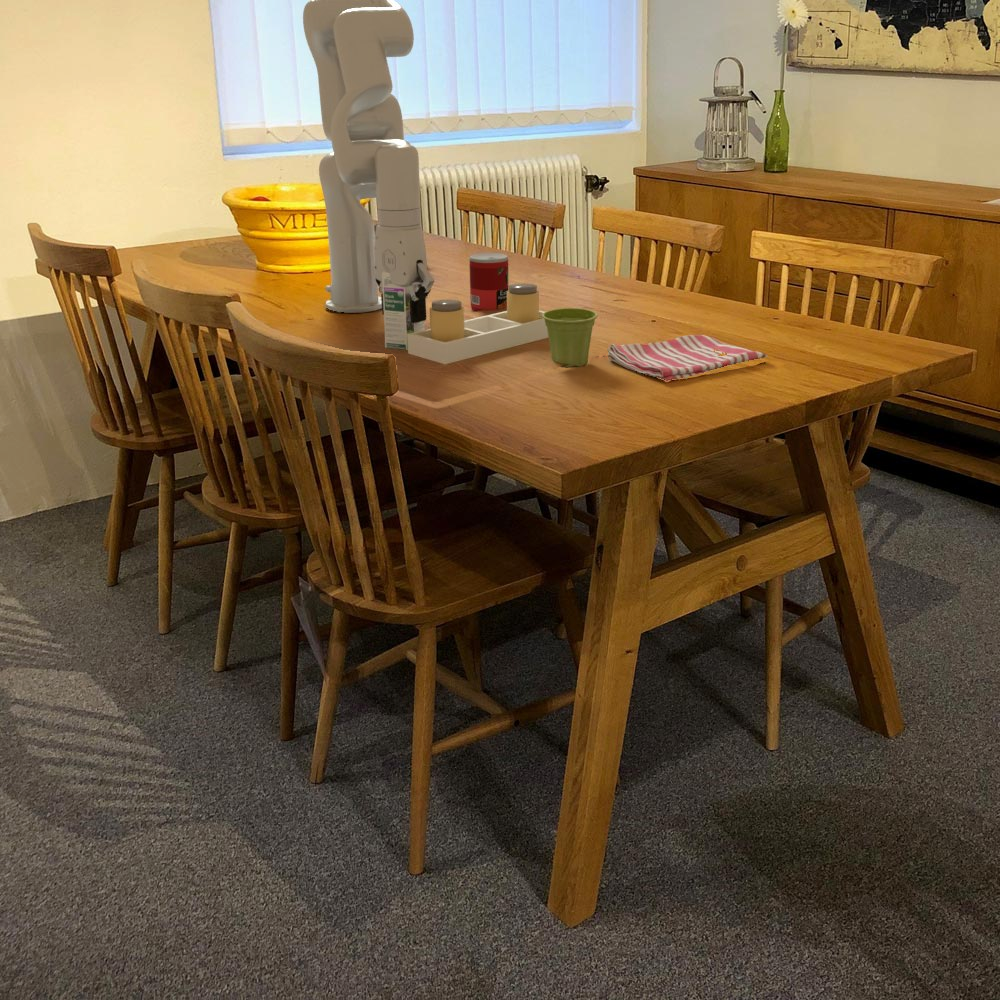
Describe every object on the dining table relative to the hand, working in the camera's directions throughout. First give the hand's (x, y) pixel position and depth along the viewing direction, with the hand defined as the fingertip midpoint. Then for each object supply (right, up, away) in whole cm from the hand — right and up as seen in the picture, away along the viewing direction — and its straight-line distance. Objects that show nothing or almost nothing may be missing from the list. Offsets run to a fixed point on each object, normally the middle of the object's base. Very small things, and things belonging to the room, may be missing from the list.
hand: (404, 317), depth 208 cm
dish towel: (+50, -10, -8) cm, 51 cm away
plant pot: (+29, -9, -8) cm, 32 cm away
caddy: (+15, -5, +2) cm, 16 cm away
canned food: (+15, +6, +31) cm, 35 cm away
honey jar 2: (+22, -2, +8) cm, 23 cm away
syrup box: (0, -6, +2) cm, 6 cm away
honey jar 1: (+8, -7, -4) cm, 11 cm away
